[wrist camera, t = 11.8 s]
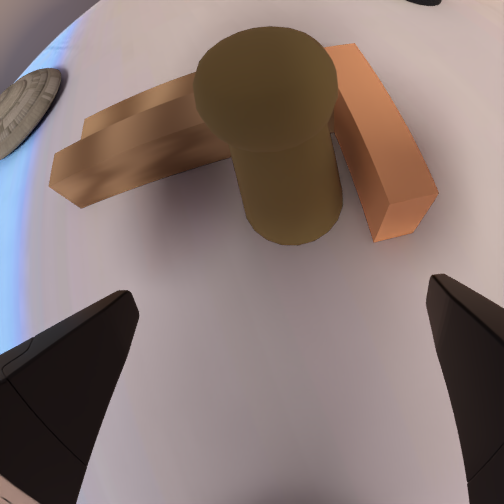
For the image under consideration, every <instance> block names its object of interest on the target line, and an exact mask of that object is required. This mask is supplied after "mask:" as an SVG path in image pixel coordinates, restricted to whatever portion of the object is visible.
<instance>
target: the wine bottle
mask: <svg viewBox="0 0 504 504" xmlns="http://www.w3.org/2000/svg"><path fill="white" fill-rule="evenodd" d="M407 1H409V2H413V3H416V4H421V5H427V6H435V5H439V4H440V3H441V0H407Z"/></svg>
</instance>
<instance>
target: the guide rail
mask: <svg viewBox="0 0 504 504" xmlns="http://www.w3.org/2000/svg"><path fill="white" fill-rule="evenodd" d="M324 49H325V50H326V51H327V53H328V54H329V56H330V57H331V59H332V60H333V63H334V66H335V68H336V72H337V80H338V98H337V101H336V104H335V106H334V109H333V111H332V114H331V117H330V119H329V122H328V127H329V131H330V133H332V132H334V133H335V135H336V138H337V140H338V142H339V145H340V147H341V150H342V152H343V155H344V158H345V160H346V163H347V165H348V168H349V171H350V173H351V176H352V179H353V182H354V184H355V187H356V190H357V193H358V196H359V199H360V201H361V204H362V207H363V210H364V213H365V216H366V219H367V223H368V226H369V229H370V232H371V235H372V238H373V242H378V241H382V240H386V239H390V238H394V237H398V236H402V235H406V234H410V233H413V232H414V230H415V229H416V227H417V226H418V224H419V223H420V221H421V220H422V218H423V217H424V215H425V214H426V212H427V211H428V209H429V208H430V206H431V205H432V203H433V202H434V200H435V198H436V197H437V195H438V194H439V192H438V190H437V187H436V185H435V183H434V180H433V178H432V176H431V174H430V171H429V169H428V167H427V165H426V163H425V161H424V159H423V157H422V155H421V153H420V151H419V148H418V147H417V145H416V143H415V141H414V139H413V137H412V135H411V133H410V131H409V129H408V127H407V125H406V124H405V122H404V120H403V118H402V116H401V115H400V113H399V111H398V109H397V108H396V106H395V104H394V103H393V101H392V99H391V97H390V96H389V94H388V93H387V91H386V89H385V88H384V86H383V84H382V83H381V81H380V80H379V78H378V77H377V75H376V74H375V72H374V71H373V69H372V67H371V66H370V65H369V63H368V62H367V60H366V59H365V57H364V56H363V54H362V53H361V52H360V50H359V49H358V47H357V46H356V45H355V43H353V44H345V45H338V46H331V47H325V48H324ZM195 73H196V72H194V73H191V74H188V75H185V76H183V77H180V78H177V79H174V80H172V81H169V82H166V83H164V84H161V85H159V86H156V87H154V88H151V89H149V90H146V91H144V92H142V93H139V94H137V95H135V96H132V97H130V98H128V99H125V100H123V101H121V102H119V103H117V104H115V105H112V106H110V107H108V108H106V109H104V110H102V111H100V112H98V113H96V114H94V115H92V116H90V117H88V118H86V119H85V121H84V126H83V131H82V136H81V140H80V141H78V142H76V143H74V144H72V145H70V146H68V147H66V148H64V149H63V150H61V151H59V152H57V153H55V155H54V160H53V165H52V170H51V176H50V182H49V187H50V188H51V189H53V190H54V191H56V192H57V193H59V194H60V195H62V196H63V197H65V198H66V199H68V200H69V201H71V202H72V203H74V204H75V205H77V206H78V207H80V208H84V207H86V206H89V205H91V204H94V203H96V202H99V201H101V200H104V199H106V198H109V197H112V196H114V195H117V194H120V193H122V192H125V191H128V190H131V189H133V188H136V187H139V186H142V185H144V184H147V183H150V182H153V181H156V180H159V179H162V178H165V177H168V176H171V175H174V174H177V173H180V172H183V171H186V170H190V169H193V168H196V167H199V166H202V165H206V164H209V163H212V162H216V161H219V160H223V159H226V158H230V157H231V153H230V149H229V145H228V144H227V143H225V142H224V141H222V140H220V139H219V138H218V137H217V136H216V135H214V134H213V133H212V132H211V131H210V129H209V128H208V127H207V125H206V124H205V123H204V121H203V120H202V118H201V117H200V115H199V113H198V111H197V110H196V104H195V98H194V91H193V85H192V84H193V81H194V77H195Z"/></svg>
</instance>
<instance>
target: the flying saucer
mask: <svg viewBox="0 0 504 504" xmlns="http://www.w3.org/2000/svg"><path fill="white" fill-rule="evenodd" d="M60 82H61V73H60V71H59V70H57V69H53V68H44V69H39V70H36V71H33V72H31V73H29V74H27V75H25V76H23V77H22V78H20V79H19V80H17V81H16V82H15V83H14V84H12V85H11V86H10V87H8V88H7V89H6V90H5V91H4V92H3V93H2V94H1V96H0V160H1V159H3V158H5V157H6V156H7V155H9V154H10V153H11V152H12V151H14V150H15V149H16V148H17V147H18V146H19V145H20V144H21V143H22V142H23V141H24V140H25V139H26V138H27V136H28V135H29V134H30V133H31V132H32V130H33V129H34V128H35V127H36V125H37V124H38V123H39V121H40V120H41V119H42V117H43V116H44V114H45V113H46V111H47V110H48V108H49V107H50V105H51V103H52V101H53V100H54V98H55V96H56V93H57V91H58V89H59V86H60Z"/></svg>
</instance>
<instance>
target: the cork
mask: <svg viewBox="0 0 504 504" xmlns="http://www.w3.org/2000/svg"><path fill="white" fill-rule="evenodd" d="M192 85H193V91H194V98H195V104H196V110H197V111H198V113H199V115H200V117H201V118H202V120H203V121H204V123H205V124H206V125H207V127H208V128H209V129H210V131H211V132H212V133H213V134H214V135H216V136H217V137H218V138H219V139H220V140H222V141H224V142H225V143H227V144H228V145H229V149H230V153H231V157H232V161H233V165H234V169H235V173H236V177H237V181H238V185H239V189H240V193H241V197H242V201H243V205H244V209H245V213H246V217H247V220H248V221H249V223H250V224H251V226H252V227H253V229H254V230H255V231H256V232H257V233H259V234H260V235H261V236H263V237H264V238H265V239H267V240H269V241H272V242H275V243H278V244H281V245H301V244H305V243H308V242H312V241H315V240H317V239H318V238H320V237H321V236H323V235H324V234H326V233H327V232H328V231H329V230H330V229H331V228H332V226H333V225H334V224H335V223H336V221H337V220H338V218H339V215H340V212H341V209H342V206H343V197H342V187H341V182H340V177H339V172H338V167H337V162H336V158H335V153H334V149H333V144H332V140H331V136H330V131H329V127H328V122H329V119H330V117H331V114H332V111H333V109H334V106H335V104H336V101H337V98H338V80H337V72H336V68H335V66H334V63H333V60H332V59H331V57H330V56H329V54H328V53H327V51H326V50H325V49H324V47H323V46H322V45H321V44H320V43H319V42H318V41H317V40H315V39H314V38H312V37H311V36H309V35H307V34H306V33H304V32H301V31H298V30H294V29H291V28H284V27H272V26H269V27H258V28H252V29H248V30H244V31H241V32H238V33H236V34H233V35H231V36H229V37H227V38H225V39H223V40H221V41H220V42H219V43H217V44H216V45H215V46H213V47H212V48H211V49H209V50H208V51H207V53H206V54H205V55H204V56H203V58H202V59H201V60H200V61H199V64H198V67H197V70H196V73H195V77H194V81H193V84H192Z"/></svg>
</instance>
